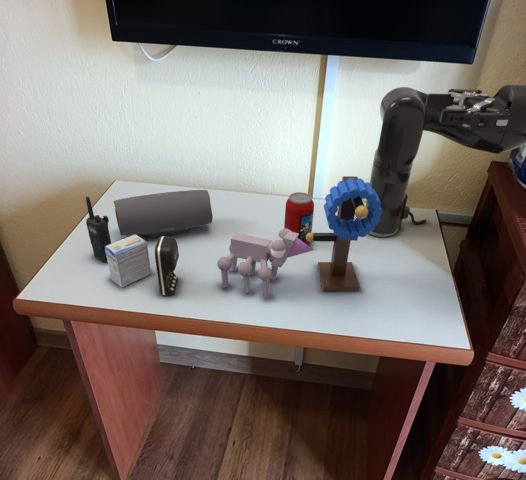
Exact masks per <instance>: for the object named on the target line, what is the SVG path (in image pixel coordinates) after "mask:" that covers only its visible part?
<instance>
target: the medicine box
mask: <svg viewBox="0 0 526 480" xmlns="http://www.w3.org/2000/svg"><path fill="white" fill-rule="evenodd" d="M105 252H106V256H107V261H108V262H107V266H108V269H109V270H108V271H109V275H110V279H111V280H112V281H113V282H114V283H115V284H117V286H119V287H120V288H124V287H126V286H128V285H130V284H133V283H135V282H137V281H140V280H142V279H144V278H145V277H147V276H150V275H152V269H151V263H150V261H151V260H150V253H149V248H148V242H147V241H146V240H145V239H143V238H142V237H140V235H139V236H138V235H135V234H134V235H128V237H125V238H122V239H120V240H117V241H114V242H111V244H109V245H107V246H105Z"/></svg>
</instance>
